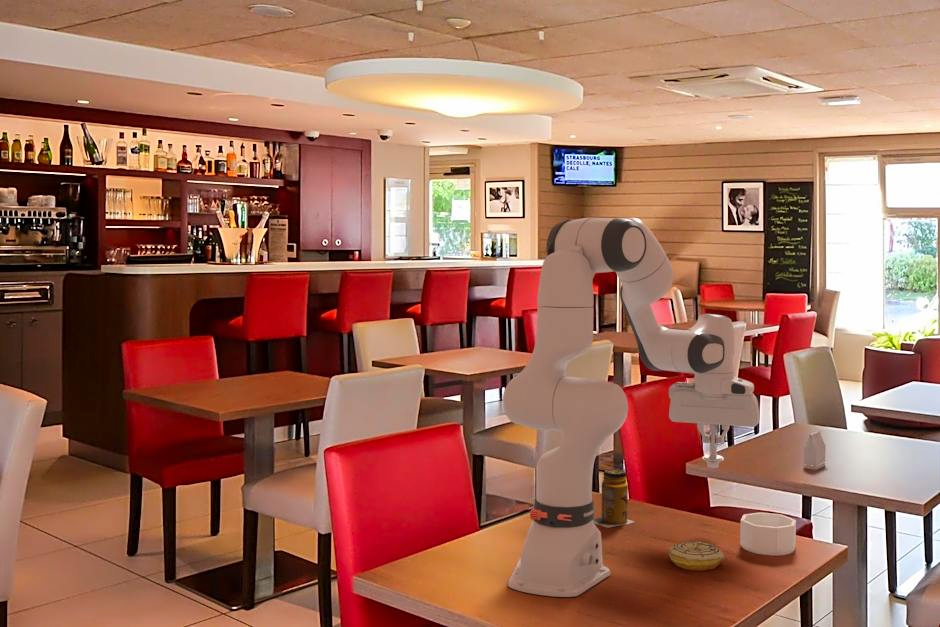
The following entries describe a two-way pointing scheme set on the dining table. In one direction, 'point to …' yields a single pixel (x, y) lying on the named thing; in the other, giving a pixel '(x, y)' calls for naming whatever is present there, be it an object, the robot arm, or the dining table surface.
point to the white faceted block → (814, 452)
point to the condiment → (614, 499)
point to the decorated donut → (695, 555)
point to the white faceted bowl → (768, 534)
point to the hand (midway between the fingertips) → (713, 443)
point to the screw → (713, 449)
